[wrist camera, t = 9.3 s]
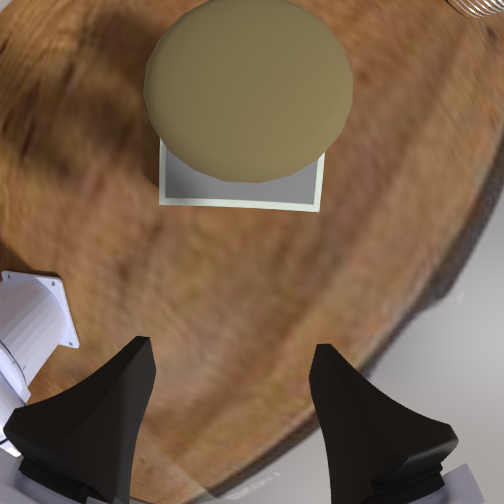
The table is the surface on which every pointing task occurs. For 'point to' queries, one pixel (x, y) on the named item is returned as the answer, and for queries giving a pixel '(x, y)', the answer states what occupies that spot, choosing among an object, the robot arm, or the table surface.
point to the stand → (238, 187)
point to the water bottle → (477, 7)
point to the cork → (248, 89)
